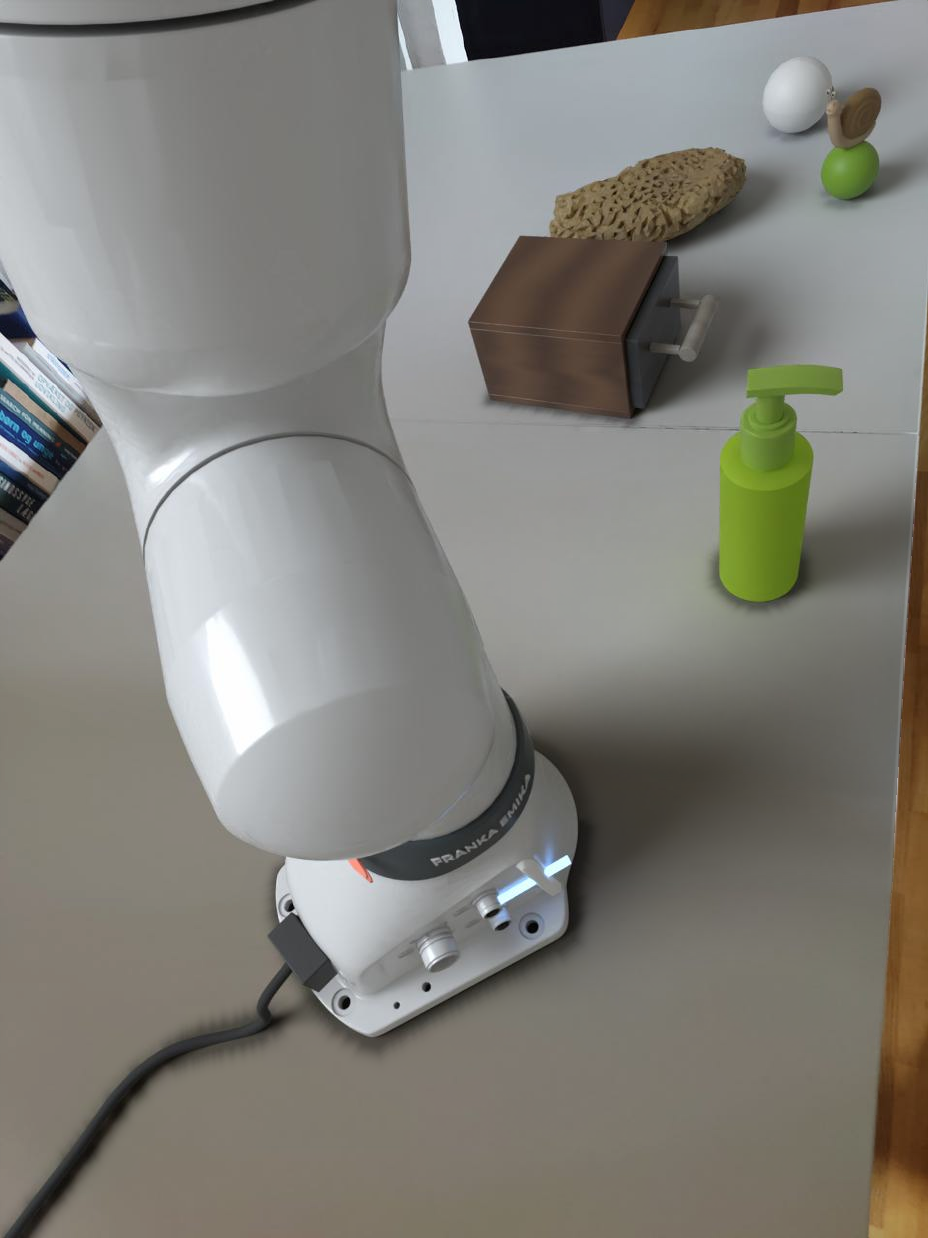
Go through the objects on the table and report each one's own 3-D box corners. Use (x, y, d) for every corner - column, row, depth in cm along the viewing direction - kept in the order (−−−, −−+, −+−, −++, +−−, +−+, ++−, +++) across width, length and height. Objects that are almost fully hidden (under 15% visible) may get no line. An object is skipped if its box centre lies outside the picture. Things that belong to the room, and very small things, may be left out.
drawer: (725, 330, 81) (726, 258, 75) (690, 414, 76) (688, 345, 70) (553, 314, 89) (540, 248, 82) (511, 391, 84) (494, 327, 77)
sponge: (561, 287, 94) (748, 232, 85) (537, 218, 89) (733, 153, 80) (580, 234, 102) (752, 180, 93) (559, 169, 98) (739, 104, 88)
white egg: (834, 139, 95) (841, 69, 89) (763, 151, 97) (766, 84, 91) (823, 92, 100) (830, 24, 94) (756, 105, 102) (759, 38, 96)
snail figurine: (799, 200, 90) (809, 82, 81) (849, 172, 91) (865, 51, 81) (835, 221, 87) (850, 100, 78) (886, 192, 88) (908, 68, 78)
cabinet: (671, 328, 84) (666, 241, 77) (630, 419, 79) (621, 335, 71) (536, 316, 90) (519, 234, 83) (489, 399, 85) (467, 321, 77)
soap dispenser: (812, 603, 64) (845, 409, 48) (717, 600, 66) (718, 413, 50) (812, 541, 67) (842, 338, 51) (720, 541, 69) (722, 345, 53)
